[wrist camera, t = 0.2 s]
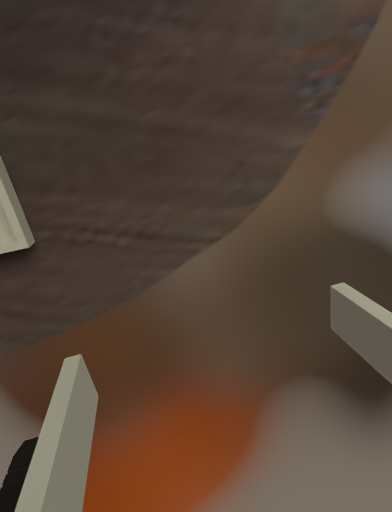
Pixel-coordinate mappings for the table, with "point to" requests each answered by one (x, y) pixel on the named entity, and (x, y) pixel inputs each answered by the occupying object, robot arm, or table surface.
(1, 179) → the tray
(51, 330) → the table surface
